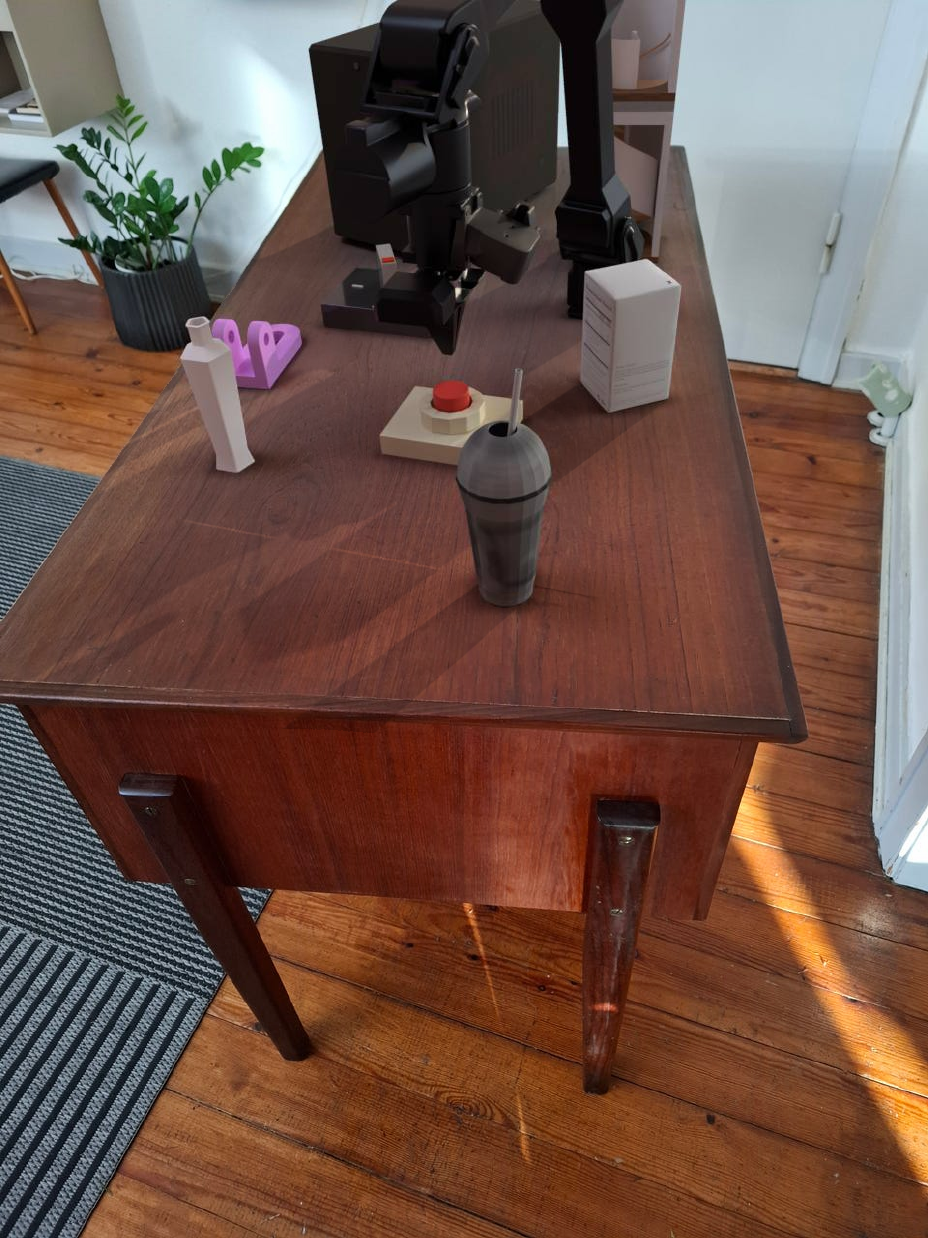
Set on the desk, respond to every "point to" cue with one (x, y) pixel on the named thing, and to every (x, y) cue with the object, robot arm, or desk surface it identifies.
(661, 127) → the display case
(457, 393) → the button
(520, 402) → the block
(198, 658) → the desk surface
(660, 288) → the white packaging box
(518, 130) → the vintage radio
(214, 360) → the perfume bottle
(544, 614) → the desk surface
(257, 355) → the bracket
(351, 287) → the panel
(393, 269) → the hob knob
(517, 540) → the beverage cup
